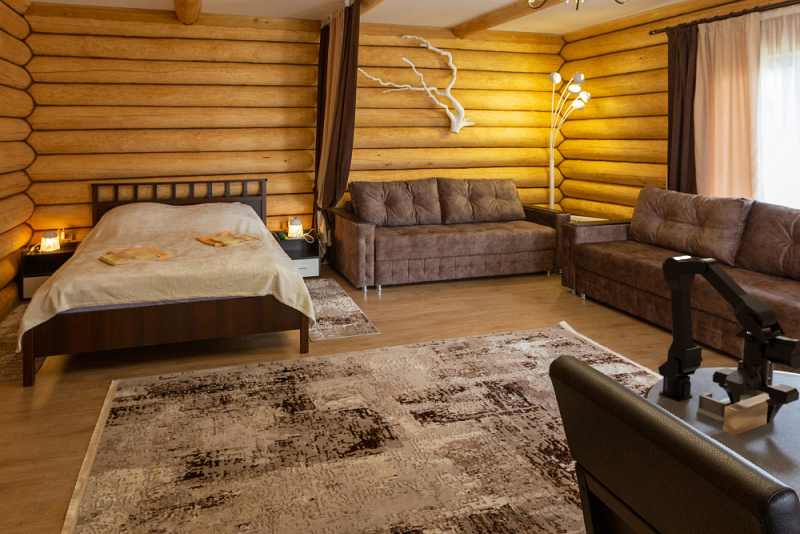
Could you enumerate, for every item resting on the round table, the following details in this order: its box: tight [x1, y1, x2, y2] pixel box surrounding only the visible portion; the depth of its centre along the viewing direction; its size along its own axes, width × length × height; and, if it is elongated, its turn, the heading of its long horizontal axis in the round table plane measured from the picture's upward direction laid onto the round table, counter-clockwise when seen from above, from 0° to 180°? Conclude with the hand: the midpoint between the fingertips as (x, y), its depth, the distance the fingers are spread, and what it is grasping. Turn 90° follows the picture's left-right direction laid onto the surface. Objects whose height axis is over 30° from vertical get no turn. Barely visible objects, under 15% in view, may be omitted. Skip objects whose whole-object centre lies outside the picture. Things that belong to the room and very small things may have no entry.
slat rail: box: [696, 390, 769, 422], centre depth 166 cm, size 7×21×4 cm, turn 119°
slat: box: [722, 393, 775, 436], centre depth 156 cm, size 3×16×6 cm, turn 119°
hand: (751, 417), depth 155 cm, fingers open, 8 cm apart
